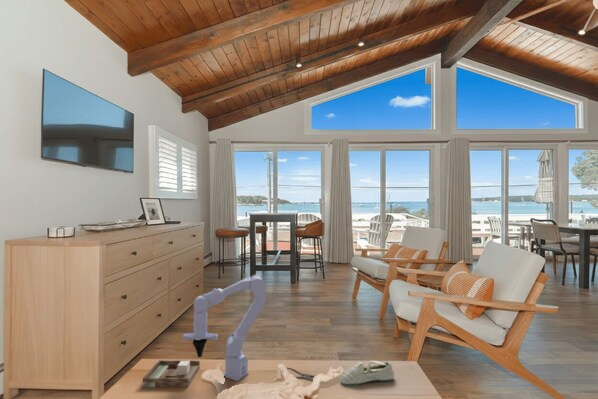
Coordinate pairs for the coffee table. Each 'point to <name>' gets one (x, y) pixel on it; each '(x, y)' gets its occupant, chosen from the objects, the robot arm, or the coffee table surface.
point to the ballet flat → (367, 373)
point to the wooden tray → (169, 374)
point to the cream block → (183, 368)
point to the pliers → (303, 375)
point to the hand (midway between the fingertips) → (200, 356)
